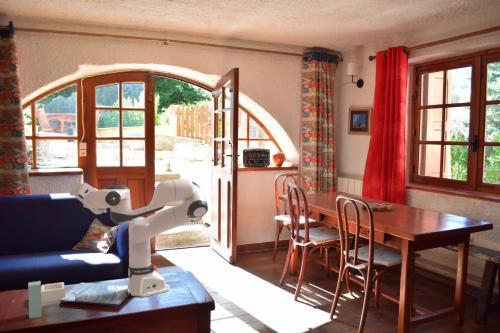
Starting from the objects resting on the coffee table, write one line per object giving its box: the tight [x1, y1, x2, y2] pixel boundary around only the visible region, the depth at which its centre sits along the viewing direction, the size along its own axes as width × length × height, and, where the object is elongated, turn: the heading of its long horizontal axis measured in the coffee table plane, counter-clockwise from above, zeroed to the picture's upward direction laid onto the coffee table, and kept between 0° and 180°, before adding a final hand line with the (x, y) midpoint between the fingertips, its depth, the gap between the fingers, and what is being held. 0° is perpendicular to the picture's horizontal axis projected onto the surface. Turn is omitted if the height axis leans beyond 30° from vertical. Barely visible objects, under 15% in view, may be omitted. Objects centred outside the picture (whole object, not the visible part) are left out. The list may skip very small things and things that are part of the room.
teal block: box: [27, 280, 43, 319], centre depth 192 cm, size 5×5×15 cm
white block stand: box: [41, 281, 72, 309], centre depth 212 cm, size 20×18×6 cm
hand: (78, 199), depth 209 cm, fingers open, 8 cm apart
